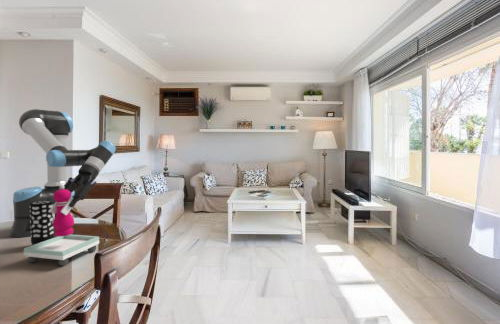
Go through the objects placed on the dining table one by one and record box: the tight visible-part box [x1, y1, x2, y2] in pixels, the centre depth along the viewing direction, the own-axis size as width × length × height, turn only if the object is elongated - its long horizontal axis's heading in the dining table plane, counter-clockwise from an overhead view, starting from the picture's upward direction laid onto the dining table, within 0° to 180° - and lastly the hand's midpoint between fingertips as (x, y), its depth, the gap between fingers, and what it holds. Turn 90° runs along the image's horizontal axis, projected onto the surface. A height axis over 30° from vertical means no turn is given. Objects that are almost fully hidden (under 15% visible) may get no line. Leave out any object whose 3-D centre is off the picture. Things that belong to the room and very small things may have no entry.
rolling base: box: [23, 233, 100, 267], centre depth 112 cm, size 18×18×6 cm
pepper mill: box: [53, 186, 75, 237], centre depth 111 cm, size 7×7×20 cm
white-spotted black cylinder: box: [30, 201, 55, 246], centre depth 124 cm, size 8×8×20 cm
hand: (57, 212), depth 109 cm, fingers closed on pepper mill, 5 cm apart
